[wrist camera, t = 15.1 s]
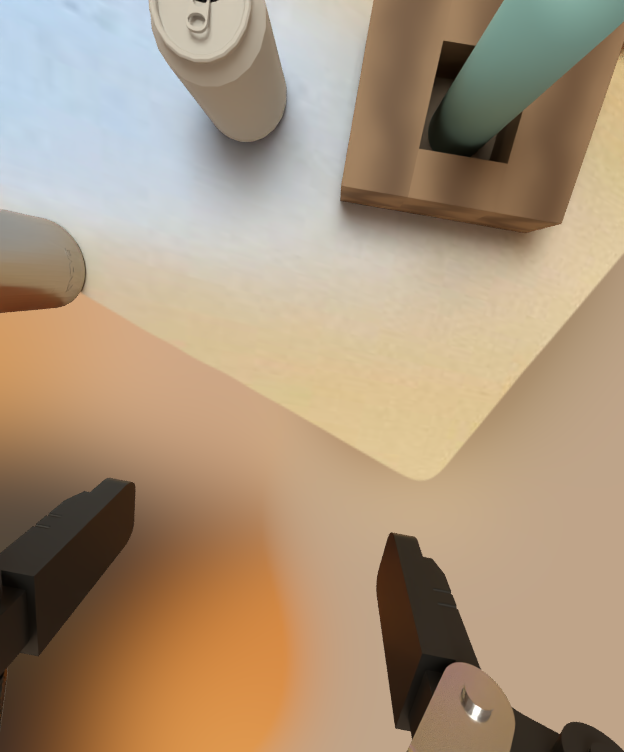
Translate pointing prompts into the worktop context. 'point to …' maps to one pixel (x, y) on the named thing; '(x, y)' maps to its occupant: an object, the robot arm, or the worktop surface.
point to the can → (224, 61)
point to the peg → (517, 66)
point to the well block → (494, 159)
